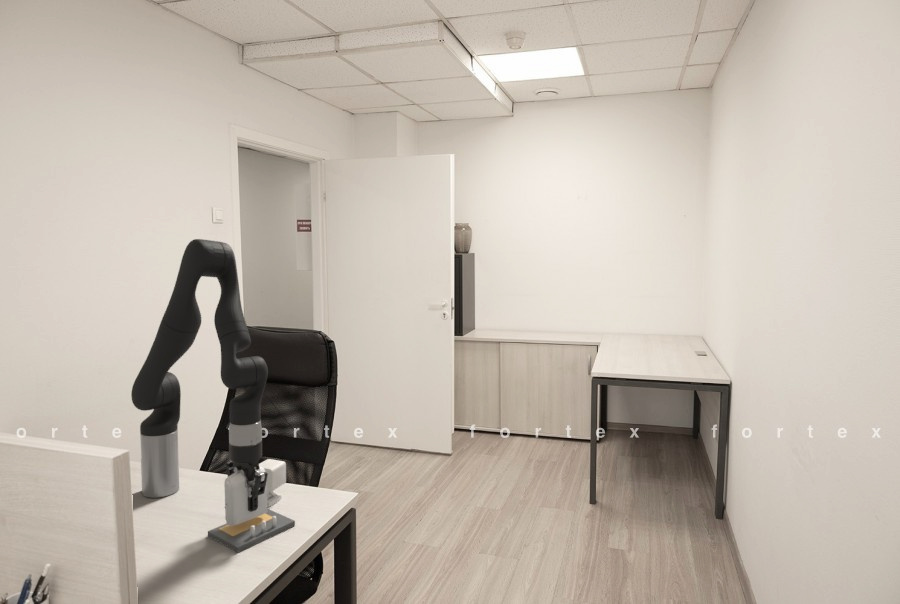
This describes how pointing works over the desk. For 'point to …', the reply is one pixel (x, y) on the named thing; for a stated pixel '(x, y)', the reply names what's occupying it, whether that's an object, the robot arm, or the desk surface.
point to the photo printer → (241, 500)
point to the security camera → (274, 478)
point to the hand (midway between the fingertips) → (246, 507)
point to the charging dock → (251, 530)
